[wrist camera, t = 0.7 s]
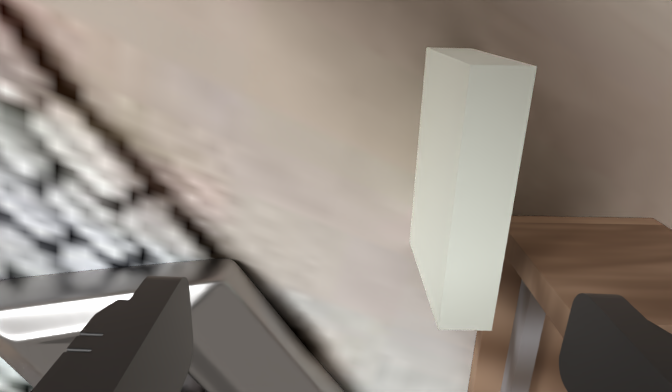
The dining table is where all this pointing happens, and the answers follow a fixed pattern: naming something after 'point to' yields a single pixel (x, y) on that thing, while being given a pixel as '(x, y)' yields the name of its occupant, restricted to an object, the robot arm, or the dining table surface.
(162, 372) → the robot arm
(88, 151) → the dining table surface
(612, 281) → the cabinet base
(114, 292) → the emblem
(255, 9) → the dining table surface
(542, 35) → the dining table surface
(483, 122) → the door panel
